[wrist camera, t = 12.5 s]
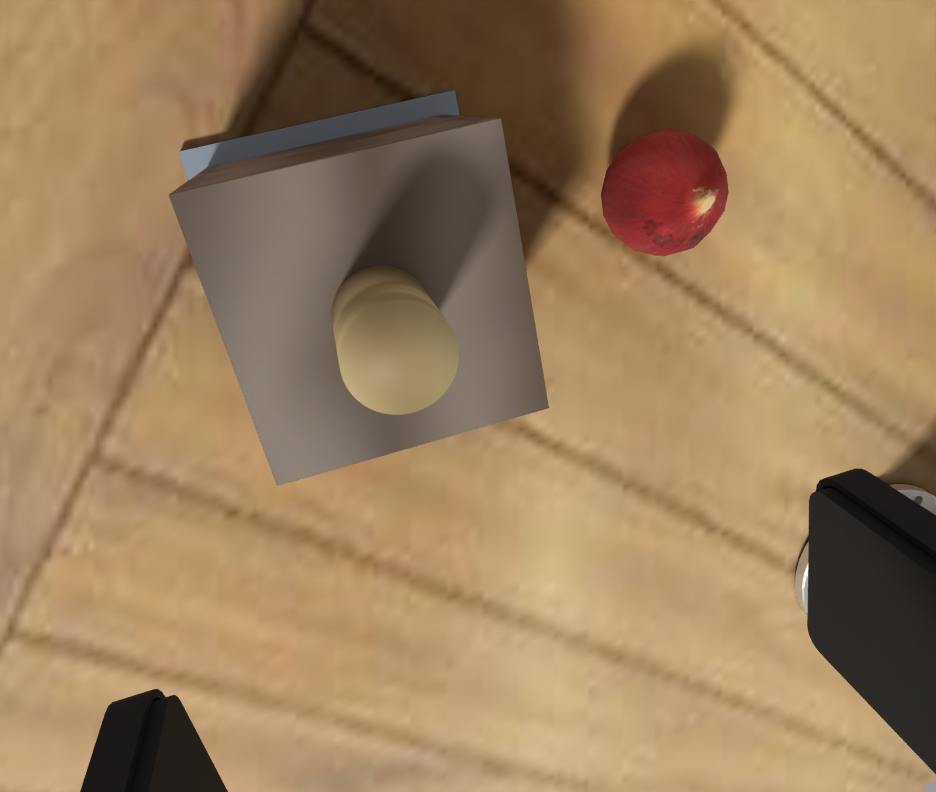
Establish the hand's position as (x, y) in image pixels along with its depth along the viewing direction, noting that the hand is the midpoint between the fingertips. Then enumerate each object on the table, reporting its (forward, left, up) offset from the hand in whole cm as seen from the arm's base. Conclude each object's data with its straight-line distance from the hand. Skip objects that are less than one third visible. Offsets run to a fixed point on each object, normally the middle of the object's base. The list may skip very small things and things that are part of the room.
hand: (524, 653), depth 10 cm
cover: (0, 0, -28) cm, 28 cm away
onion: (-15, 0, -28) cm, 32 cm away
